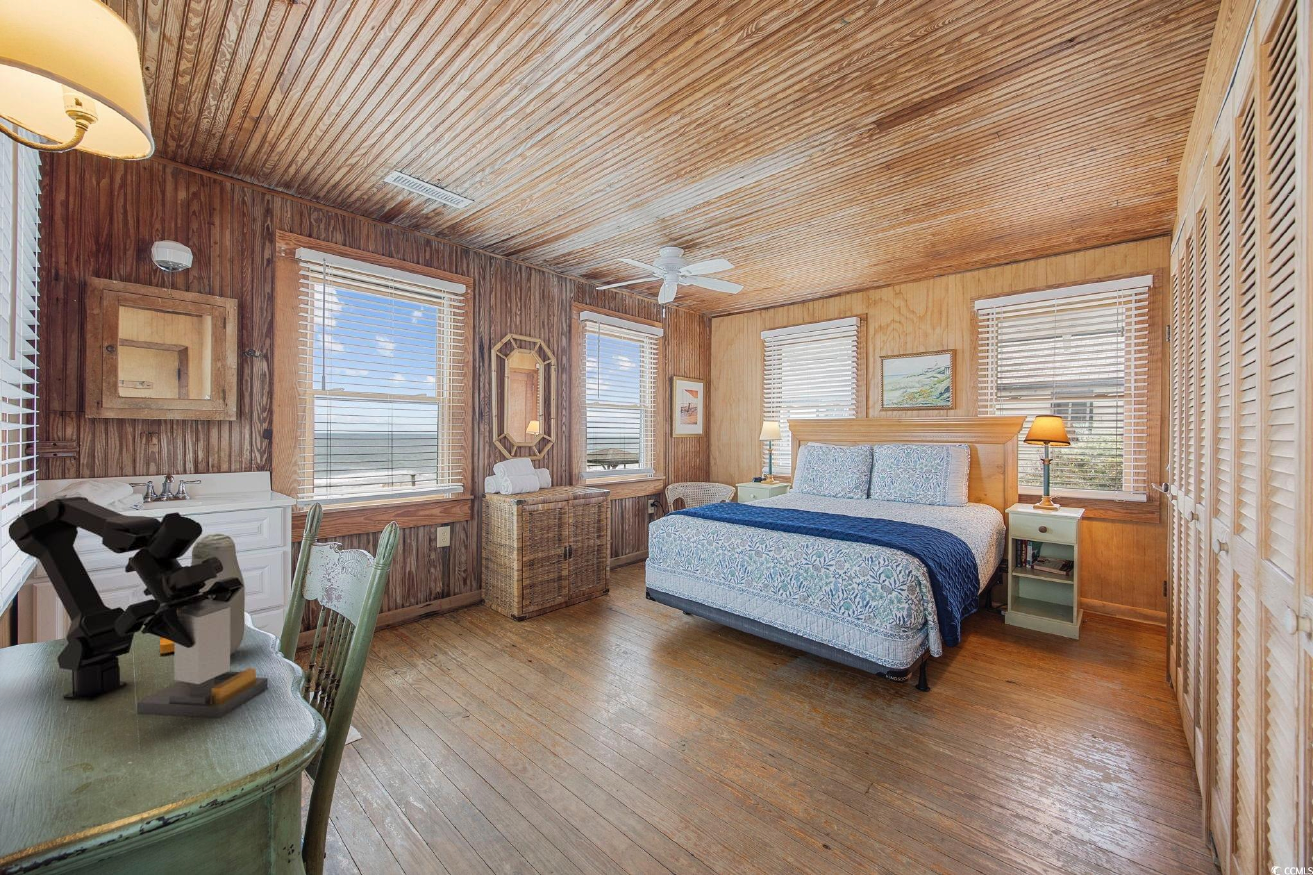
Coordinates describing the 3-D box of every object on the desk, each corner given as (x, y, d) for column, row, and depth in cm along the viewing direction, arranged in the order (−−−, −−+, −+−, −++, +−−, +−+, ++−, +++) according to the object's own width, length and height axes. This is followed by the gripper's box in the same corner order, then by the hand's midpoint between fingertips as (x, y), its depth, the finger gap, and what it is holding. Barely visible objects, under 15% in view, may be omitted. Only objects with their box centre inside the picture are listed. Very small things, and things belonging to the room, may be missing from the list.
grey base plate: (136, 713, 99) (136, 688, 99) (193, 684, 110) (192, 662, 110) (219, 717, 97) (218, 692, 97) (267, 687, 108) (267, 665, 108)
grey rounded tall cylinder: (200, 652, 125) (198, 531, 124) (252, 647, 128) (251, 529, 127) (175, 671, 115) (173, 540, 115) (232, 665, 118) (230, 537, 118)
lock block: (174, 679, 98) (174, 608, 97) (206, 666, 103) (207, 598, 103) (198, 684, 96) (198, 611, 96) (230, 670, 102) (230, 601, 101)
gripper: (126, 558, 91) (176, 631, 89) (236, 536, 109) (280, 596, 107) (92, 600, 93) (140, 672, 91) (205, 571, 111) (248, 631, 109)
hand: (208, 639), depth 99 cm, fingers closed on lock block, 6 cm apart
